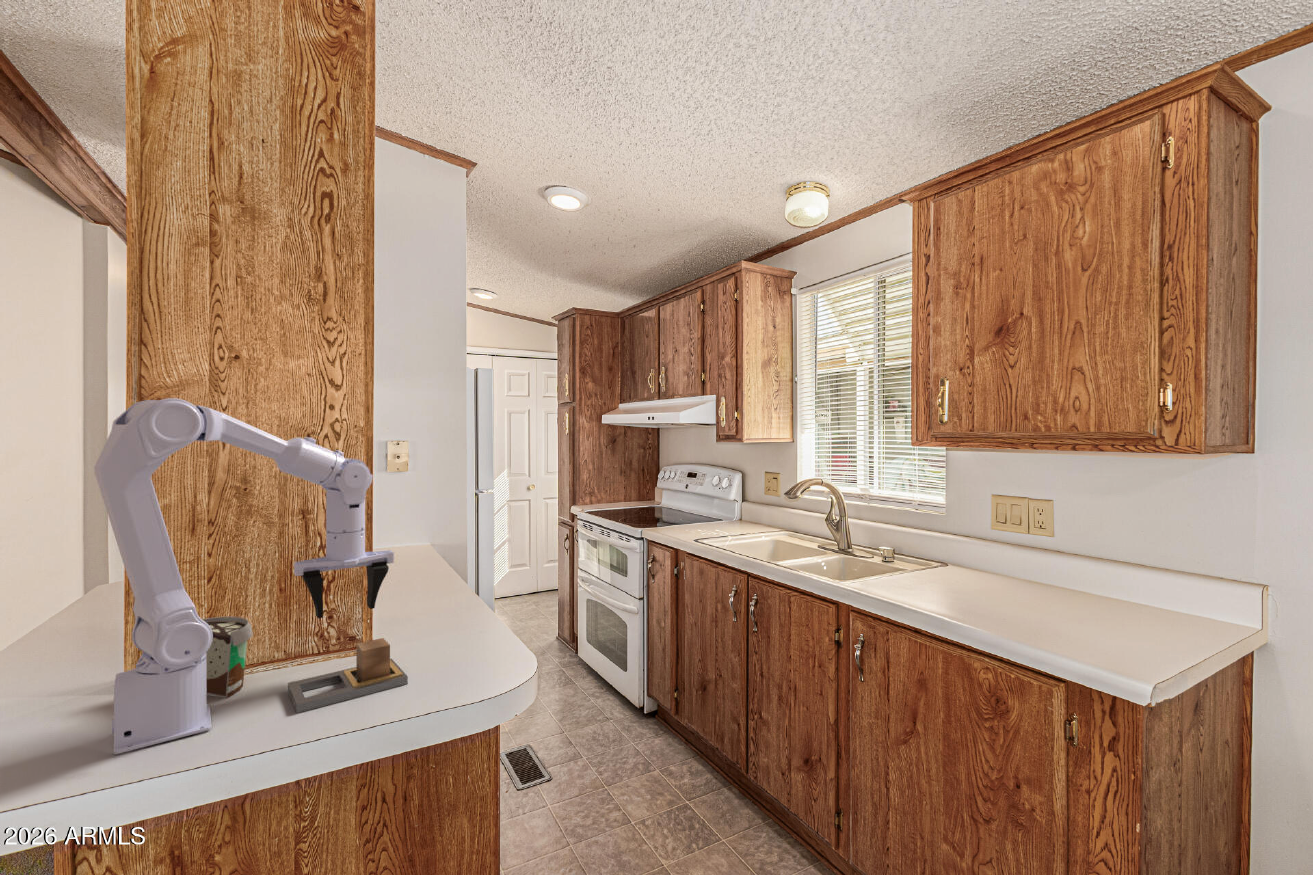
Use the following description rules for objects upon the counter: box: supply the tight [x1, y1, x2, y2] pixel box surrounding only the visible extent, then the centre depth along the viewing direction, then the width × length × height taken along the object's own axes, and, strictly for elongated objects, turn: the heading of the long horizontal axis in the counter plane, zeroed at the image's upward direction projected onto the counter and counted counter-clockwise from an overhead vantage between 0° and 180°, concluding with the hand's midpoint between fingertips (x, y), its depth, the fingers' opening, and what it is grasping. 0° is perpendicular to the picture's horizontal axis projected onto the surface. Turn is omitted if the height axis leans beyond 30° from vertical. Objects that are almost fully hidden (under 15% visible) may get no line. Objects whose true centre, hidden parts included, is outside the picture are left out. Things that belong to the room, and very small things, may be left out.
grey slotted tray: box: [287, 658, 409, 714], centre depth 89 cm, size 15×9×1 cm, turn 130°
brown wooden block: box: [355, 637, 391, 683], centre depth 91 cm, size 4×4×6 cm
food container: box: [201, 616, 254, 699], centre depth 90 cm, size 12×6×10 cm, turn 74°
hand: (345, 611), depth 95 cm, fingers open, 7 cm apart
